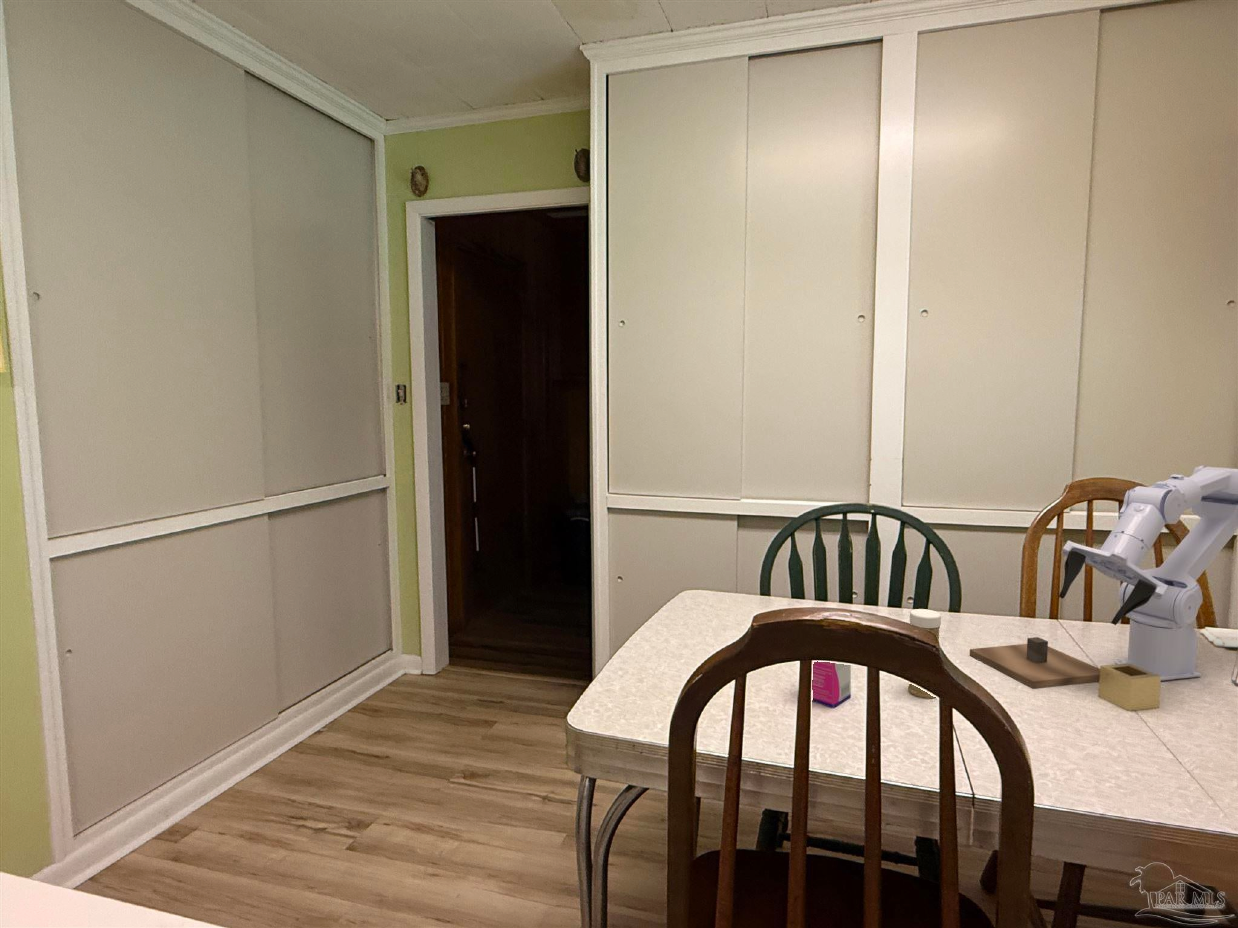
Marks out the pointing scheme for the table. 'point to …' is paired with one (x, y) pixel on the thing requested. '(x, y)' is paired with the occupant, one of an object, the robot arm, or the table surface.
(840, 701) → the supplement box
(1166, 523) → the robot arm
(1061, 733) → the table surface
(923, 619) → the sprinkles bottle
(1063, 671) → the post stand
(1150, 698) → the small tan open box
